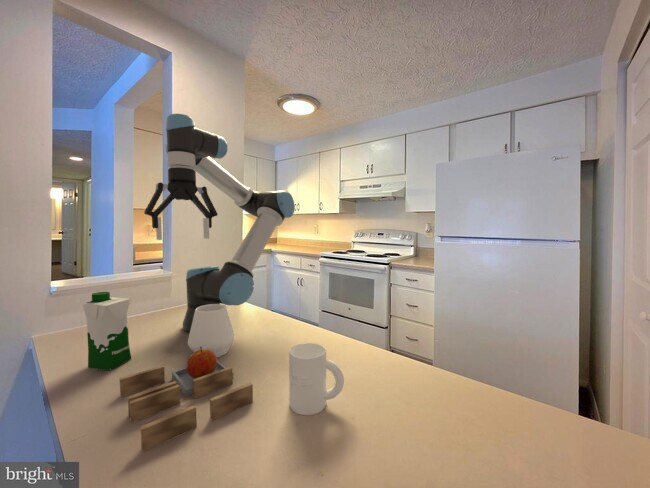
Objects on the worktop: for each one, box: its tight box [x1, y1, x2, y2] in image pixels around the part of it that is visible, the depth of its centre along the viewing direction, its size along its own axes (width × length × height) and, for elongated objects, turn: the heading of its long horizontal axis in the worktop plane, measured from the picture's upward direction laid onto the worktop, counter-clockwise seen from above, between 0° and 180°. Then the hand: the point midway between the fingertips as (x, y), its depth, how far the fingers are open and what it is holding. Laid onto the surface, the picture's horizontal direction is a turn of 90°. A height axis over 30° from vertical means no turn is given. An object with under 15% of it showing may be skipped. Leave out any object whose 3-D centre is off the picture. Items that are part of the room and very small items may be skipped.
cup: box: [187, 303, 235, 358], centre depth 89 cm, size 13×13×14 cm
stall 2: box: [129, 385, 198, 453], centre depth 57 cm, size 9×11×4 cm
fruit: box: [186, 347, 218, 379], centre depth 73 cm, size 7×7×8 cm
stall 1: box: [119, 365, 177, 419], centre depth 66 cm, size 9×11×4 cm
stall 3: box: [192, 366, 254, 421], centre depth 65 cm, size 9×11×4 cm
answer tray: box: [171, 358, 234, 398], centre depth 74 cm, size 11×11×2 cm
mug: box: [288, 342, 345, 416], centre depth 63 cm, size 8×12×12 cm
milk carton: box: [82, 291, 132, 371], centre depth 81 cm, size 9×9×20 cm
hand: (184, 239), depth 89 cm, fingers open, 13 cm apart
